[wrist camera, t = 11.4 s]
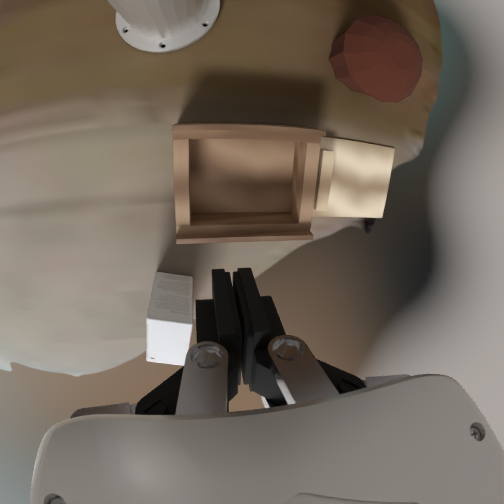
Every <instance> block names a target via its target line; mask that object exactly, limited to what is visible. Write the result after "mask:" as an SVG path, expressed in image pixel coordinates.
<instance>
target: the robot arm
mask: <svg viewBox="0 0 504 504" xmlns="http://www.w3.org/2000/svg"><path fill="white" fill-rule="evenodd" d="M107 1H108V2H109V3H110V4H111V5H112V6H113V8H114V9H115V10H116V26H117V30H118V31H119V33H120V35H121V37H122V38H123V39H124V40H125V41H126V42H127V43H128V44H130V45H131V46H133V47H135V48H137V49H139V50H142V51H146V52H153V53H165V52H171V51H176V50H179V49H182V48H185V47H187V46H189V45H191V44H193V43H195V42H196V41H198V40H199V39H200V38H202V37H203V36H204V35H205V34H206V33H207V32H208V31H209V30H210V29H211V27H212V26H213V25H214V23H215V21H216V19H217V17H218V14H219V10H220V0H107ZM204 24H207V27H204V26H203V25H204ZM127 30H128V32H127V33H125V31H127ZM163 45H165V48H161V47H162V46H163ZM212 295H213V299H208V300H196V331H197V344H195V345H193V346H192V347H191V348H190V349H189V350H188V352H187V354H186V358H185V364H184V366H183V367H182V368H181V369H179V370H178V371H177V372H176V373H174V374H173V375H172V376H170V377H169V378H168V379H167V380H165V381H164V382H163V383H162V384H160V385H159V386H158V387H156V388H155V389H154V390H152V391H151V392H150V393H148V394H147V395H146V396H144V397H143V398H142V399H141V400H140V401H139V402H138V403H137V404H131V405H130V404H129V402H127V403H120V404H113V405H106V406H97V407H88V408H82V409H78V410H76V411H75V412H74V413H73V414H72V416H71V417H70V419H67V420H64V421H61V422H59V423H57V424H55V425H54V426H52V427H51V428H50V429H49V430H48V431H47V432H46V434H45V435H44V437H43V439H42V441H41V444H40V447H39V450H38V453H37V457H36V461H35V466H34V472H33V478H32V483H31V494H30V504H504V450H503V448H502V446H501V444H500V442H499V441H498V439H497V437H496V435H495V434H494V432H493V430H492V428H491V427H490V425H489V423H488V422H487V420H486V418H485V417H484V415H483V414H482V412H481V411H480V409H479V408H478V406H477V405H476V403H475V402H474V401H473V399H472V398H471V397H470V395H469V394H468V393H467V392H466V391H465V389H464V388H463V387H462V386H461V385H460V384H459V383H458V382H457V381H456V380H455V379H453V378H451V377H449V376H446V375H440V374H421V375H420V374H419V375H413V376H410V375H406V374H403V375H390V376H376V377H365V378H364V380H361V379H360V378H358V377H356V376H354V375H352V374H350V373H347V372H345V371H343V370H340V369H338V368H336V367H333V366H331V365H329V364H327V363H324V362H322V361H320V360H317V359H316V358H315V357H314V355H313V354H312V352H311V351H310V349H309V348H308V346H307V345H306V344H305V342H304V341H303V340H301V339H300V338H298V337H295V336H292V335H286V334H285V331H284V329H283V326H282V323H281V321H280V318H279V315H278V313H277V310H276V307H275V305H274V302H273V300H272V297H271V296H260V295H259V291H258V289H257V286H256V283H255V279H254V276H253V273H252V270H251V268H238V270H237V272H233V287H232V282H231V277H230V272H225V270H224V269H212ZM241 372H242V377H243V382H244V384H249V387H250V391H254V392H256V393H258V394H260V395H261V396H262V402H263V404H264V406H265V408H263V409H255V410H247V411H237V412H229V401H230V400H231V399H232V398H233V397H234V396H235V395H236V394H237V393H238V385H240V381H241V380H240V379H241Z"/></svg>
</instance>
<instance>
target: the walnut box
mask: <svg viewBox="0 0 504 504" xmlns="http://www.w3.org/2000/svg"><path fill="white" fill-rule="evenodd" d="M172 131H173V160H174V194H175V215H176V231H177V236H176V244H193V243H221V242H252V241H285V240H313V234H312V233H311V232H310V228H311V221H312V214H313V206H314V198H315V190H316V181H317V172H318V163H319V153H320V143H321V136H326V131H324V130H319V129H313V128H308V127H300V126H289V125H275V124H258V123H177V124H174V125H172Z"/></svg>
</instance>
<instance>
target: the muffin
mask: <svg viewBox="0 0 504 504" xmlns="http://www.w3.org/2000/svg"><path fill="white" fill-rule="evenodd" d="M329 61H330V63H331V65H332V67H333V70H334V73H335V77H336V78H337V79H338V80H340V81H341V82H343V83H344V84H345V85H346V86H347V87H348V88H349V89H350V90H351V91H356V92H360V93H364V94H368V95H370V96H372V97H374V98H375V99H377V100H379V101H381V102H399V101H401V100H402V99H404V98H406V97H408V96H410V95H411V93H412V92H413V90H414V88H415V87H416V85H417V83H418V82H419V79H420V77H421V72H422V61H423V60H422V56H421V52H420V49H419V45H418V44H417V42H416V41H415V39H414V38H413V36H412V35H411V33H410V32H409V31H408V30H406V29H405V28H403V27H402V26H401V25H399V24H398V23H396V22H395V21H393V20H390V19H389V18H385V17H380V16H376V15H368V16H365V17H362V18H359V19H356V20H355V21H354V22H353V24H352V25H351V26H350V28H349V29H348V30H347V31H345V32H344V33H343V34H342V35H341V36H340V37H339V38H337V39H336V40H335V41H334V42H333V46H332V52H331V54H330V57H329Z"/></svg>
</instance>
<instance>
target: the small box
mask: <svg viewBox="0 0 504 504" xmlns="http://www.w3.org/2000/svg"><path fill="white" fill-rule="evenodd" d="M146 319H147V353H146V360H147V361H151V362H157V363H166V364H174V365H184V364H185V358H186V354H187V352H188V350H189V347H190V340H191V334H192V327H193V277H191V276H183V275H176V274H169V273H162V272H156V275H155V280H154V284H153V289H152V293H151V298H150V303H149V308H148V313H147V318H146Z"/></svg>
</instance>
